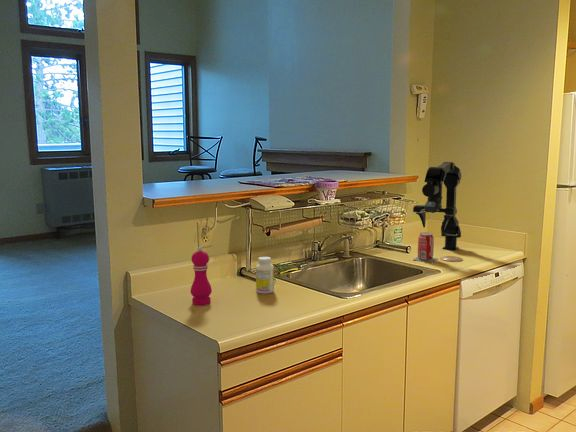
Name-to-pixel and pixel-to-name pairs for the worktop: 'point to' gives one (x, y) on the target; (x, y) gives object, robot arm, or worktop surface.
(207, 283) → the pepper mill
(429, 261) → the coaster
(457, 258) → the disc
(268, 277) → the supplement bottle
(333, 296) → the worktop surface
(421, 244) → the soda can
